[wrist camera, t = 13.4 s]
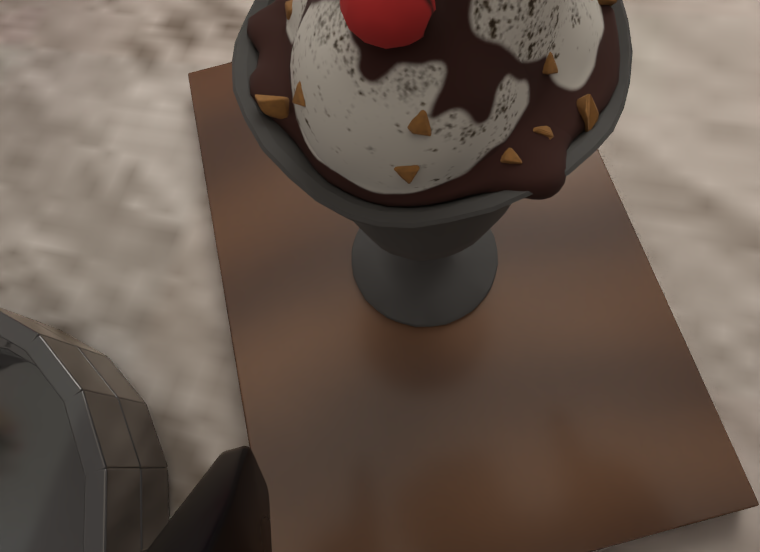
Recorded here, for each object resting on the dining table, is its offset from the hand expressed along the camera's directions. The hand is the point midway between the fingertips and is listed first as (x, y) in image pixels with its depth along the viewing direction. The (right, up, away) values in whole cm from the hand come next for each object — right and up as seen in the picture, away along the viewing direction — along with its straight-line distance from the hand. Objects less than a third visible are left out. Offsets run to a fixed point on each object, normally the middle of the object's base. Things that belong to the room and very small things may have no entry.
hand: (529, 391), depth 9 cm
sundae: (-1, +2, +10) cm, 10 cm away
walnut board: (-1, +2, +11) cm, 11 cm away
